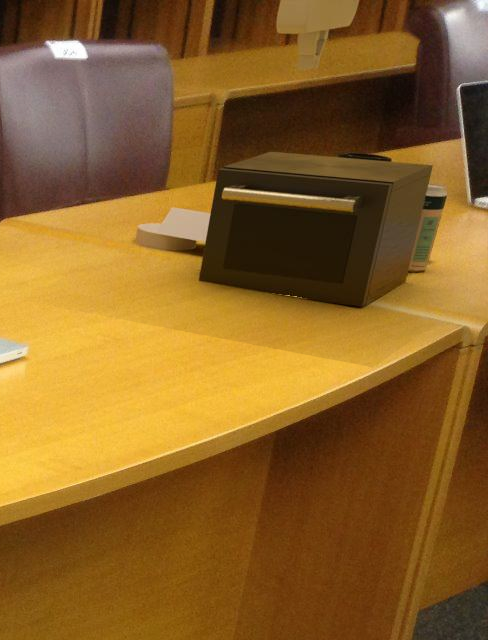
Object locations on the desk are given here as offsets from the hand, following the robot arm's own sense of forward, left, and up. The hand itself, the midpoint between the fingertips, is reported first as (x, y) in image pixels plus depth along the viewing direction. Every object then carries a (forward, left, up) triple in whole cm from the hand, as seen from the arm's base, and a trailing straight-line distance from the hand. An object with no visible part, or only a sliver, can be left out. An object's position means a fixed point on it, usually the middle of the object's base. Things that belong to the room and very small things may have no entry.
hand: (306, 70), depth 191 cm
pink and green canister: (-8, -39, -30) cm, 50 cm away
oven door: (+1, -7, -30) cm, 30 cm away
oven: (+1, -20, -30) cm, 36 cm away
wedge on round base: (+23, -29, -30) cm, 48 cm away
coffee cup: (+3, -44, -30) cm, 54 cm away
